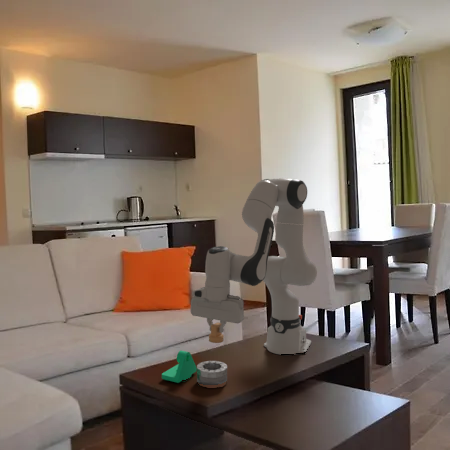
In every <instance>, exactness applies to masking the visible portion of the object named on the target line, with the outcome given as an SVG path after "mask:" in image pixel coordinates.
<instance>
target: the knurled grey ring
mask: <svg viewBox="0 0 450 450" xmlns="http://www.w3.org/2000/svg"><path fill="white" fill-rule="evenodd" d="M196 367H197V371H196V383H197V382H198V383H199V384H203V385H218V384H222V383H224V382H226V381H227V382H228V365H227V364H226V363H225V362H223V361H219V360H207V361H202V362H199V363H198V364H197V365H196Z"/></svg>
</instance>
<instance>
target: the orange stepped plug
mask: <svg viewBox="0 0 450 450" xmlns="http://www.w3.org/2000/svg"><path fill="white" fill-rule="evenodd" d="M220 326H221V323H220V322H215V323H213V325H211V331H210V333H209V334H208V341H209V342H210V343H213V344H219V343H223V342H224V338H225V337H224V336H225V335H224V334H223V332H222V333H219V332H217V331H218V330H217V328H218V327H220Z"/></svg>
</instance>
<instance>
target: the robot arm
mask: <svg viewBox="0 0 450 450" xmlns="http://www.w3.org/2000/svg"><path fill="white" fill-rule="evenodd" d="M307 198H308V187H307V185H306V183H305V182H304V181H303V180H301V179H297V178H293V179H292V178H288V177H287V178H286V177H285V178H284V177H280V178H265V179H261V180H259V181H258V182H257V183H256V184H255V185H254V186H253V188H252V189H251V191H250V192H249V195H248V197H247V199H246V201H245V203H244V205H243V208H242V211H241V216H242V217H241V218H242V220H243V222H244V224H245V225H247V227H248V228H249V229H250V230H252V231H253V232H255V233H257V238H256V243H255V247H254V251H253V254H251V255H242V254H236V253H233V252H232V251H231V250H230V249H229V248H228V247H226V246H222V245H221V246H212V247H211V248H209V249H208V250H207V252H206V256H205V269H204V272H205V273H204V274H205V277H206V279H205V283H204V286H203V287H200V288H197V289H196V288H195V289H194V290H192V293H191V295H192V298H191V301H190V309H189V310H190V314H191V315H192V316H193V317H200V318H206V322H207V325H208V326H209V331H210V332H211V325H213V324H214V323H213V321H214V320H215V321H219V323H221V326H220V327H218V328H217V330H218V331H217V332H219V333H222V334H223V333H224V328H225V326H226V324H227V323H232V324H237V325H238V324H240V323H242V322H243V321H244V320H245V314H244V313H245V312H244V304H245V303H244V300H243V299H242V298H241V296H238V295H233V294H231V282H230V281H232V282H236V283H242V284H246V285H249V286H251V287H255V286H258V285H259V284H261V283H262V282H264V285H266V287H267V289H268V291H269V293H270V298H271V315H270V326H268V327H267V334H266V342H264V343H263V347H265V348H266V349H267V351H268V352H270V353H273V354H276V355H281V354H294V353H300V352H306V351H307V352H308V350H309V349H310V347H311V344H312V340H311V339H308V338H307V331H306V329H305V328H304V327H303V326H302V324H301V320H302V319H303V315H302V314H300V313H299V312H300V301H299V297H298V296H297V295H296V294H295V293H294V292H293V291H291V290H290V287H289V286H288V285H290V286H297V287H303V286H304V287H305V286H306V287H307V286H311V285H312V284H313V283H314V282H315V281H316V278H317V275H318V269H317V267H316V265H315V263H314V262H313V261H312V260H311V259H310V258H309V257H308V255H307V253H306V251H305V248H304V242H303V241H304V238H303V237H304V236H303V233H304V219H305V217H304V207H303V206H304V205H303V204H305V202H306V200H307ZM276 207H277V208H278V209H277V214H276V224H275V223H274V222H273V220H272V216H273V213H274V210H275V208H276ZM274 232H275V235H274ZM273 238H274V240H275V243H276V244H277V245H278V246H279V247H280V248H282V249H283V251H284V253H285V256H277V255H270V252H271V251H270V250H271V246H272V242H273ZM309 346H310V347H309ZM307 349H308V350H307ZM307 352H306V353H307ZM294 355H295V354H294Z"/></svg>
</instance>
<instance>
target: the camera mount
mask: <svg viewBox="0 0 450 450" xmlns="http://www.w3.org/2000/svg"><path fill="white" fill-rule="evenodd" d="M176 361H177V364H175V365H174V366H173V367H170V368H169V369H167V370H166V371H163V373H161V379H162V380H164V381H170V382H172V383H173V382H174V383H177V384H179V383H181V382H183V381H182V380H186V379H188V378H189V379H190V377H191V378H192V375H193V374H195V373H197V365H196V363H195V361H194V358H193V356H192V354H191V352H190V351H185V350H179V351H178V352H177V355H176ZM189 379H188V380H189ZM186 381H187V380H186Z"/></svg>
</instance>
